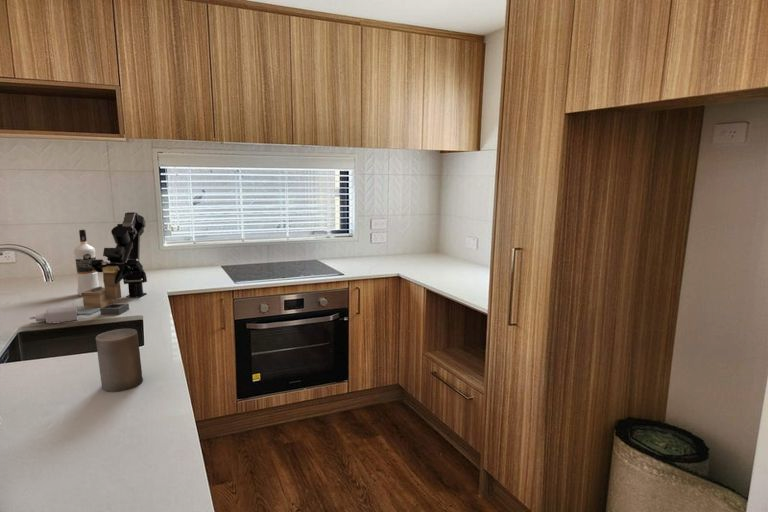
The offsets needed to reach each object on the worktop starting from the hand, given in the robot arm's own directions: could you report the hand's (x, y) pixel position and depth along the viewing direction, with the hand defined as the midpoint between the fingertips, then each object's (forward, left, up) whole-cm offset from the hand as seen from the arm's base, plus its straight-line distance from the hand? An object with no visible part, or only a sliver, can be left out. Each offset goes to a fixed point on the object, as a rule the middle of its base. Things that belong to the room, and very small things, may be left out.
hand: (110, 283), depth 194 cm
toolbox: (-11, -12, -12) cm, 21 cm away
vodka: (-32, -29, -12) cm, 45 cm away
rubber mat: (-2, -11, -12) cm, 17 cm away
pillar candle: (+67, +40, -12) cm, 79 cm away
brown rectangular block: (-1, 0, -7) cm, 7 cm away
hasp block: (-1, 0, -12) cm, 12 cm away
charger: (+10, -17, -13) cm, 23 cm away
